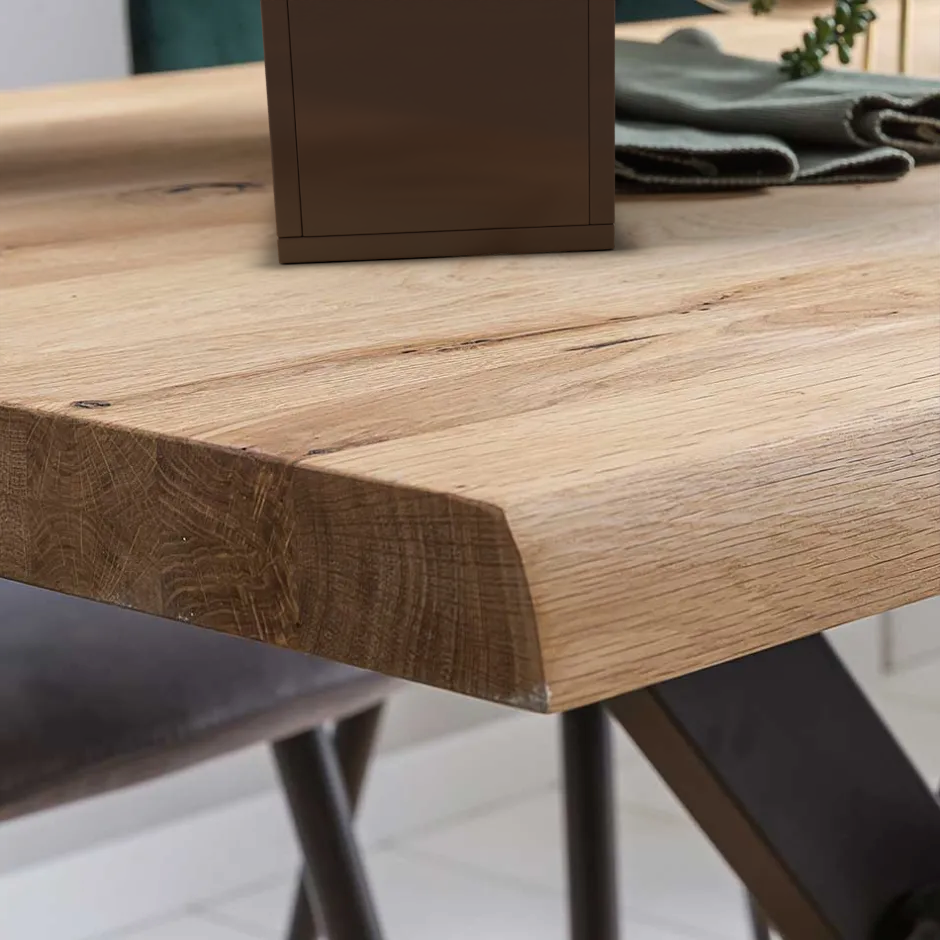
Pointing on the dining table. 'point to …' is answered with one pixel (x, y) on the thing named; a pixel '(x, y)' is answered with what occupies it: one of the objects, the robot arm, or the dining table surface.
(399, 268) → the dining table surface
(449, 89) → the cabinet
